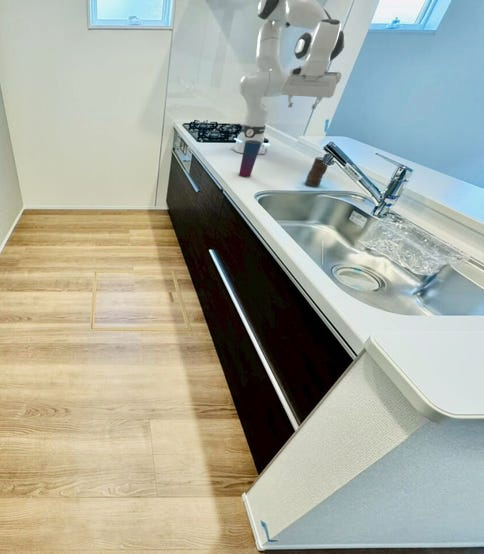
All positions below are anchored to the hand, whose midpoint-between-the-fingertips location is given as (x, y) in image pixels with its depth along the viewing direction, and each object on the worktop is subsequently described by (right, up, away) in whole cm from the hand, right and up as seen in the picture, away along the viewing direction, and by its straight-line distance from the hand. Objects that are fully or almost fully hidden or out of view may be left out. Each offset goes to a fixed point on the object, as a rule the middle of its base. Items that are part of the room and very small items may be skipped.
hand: (301, 108), depth 131 cm
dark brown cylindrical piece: (+5, -34, 0) cm, 34 cm away
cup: (-21, -27, +10) cm, 35 cm away
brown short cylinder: (+5, -27, -5) cm, 28 cm away
